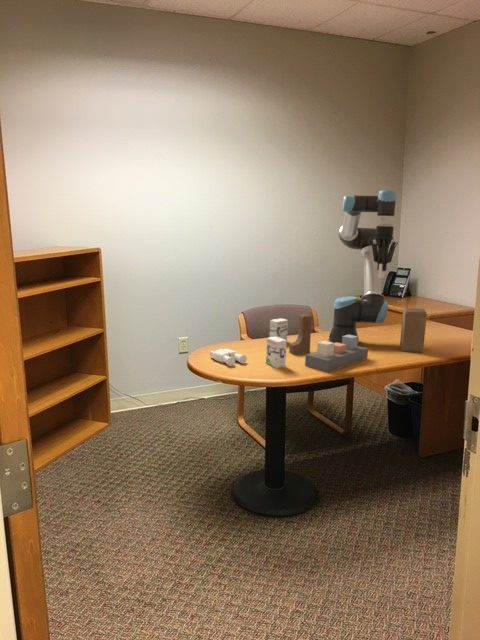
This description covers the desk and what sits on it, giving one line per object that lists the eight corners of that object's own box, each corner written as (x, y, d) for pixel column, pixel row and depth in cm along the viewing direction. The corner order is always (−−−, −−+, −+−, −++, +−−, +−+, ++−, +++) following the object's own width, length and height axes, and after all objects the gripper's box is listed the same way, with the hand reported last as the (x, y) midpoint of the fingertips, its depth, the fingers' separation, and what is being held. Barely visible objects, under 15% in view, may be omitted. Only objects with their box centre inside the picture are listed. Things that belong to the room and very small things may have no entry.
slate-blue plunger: (341, 350, 233) (342, 336, 232) (347, 349, 236) (348, 334, 235) (350, 353, 230) (351, 338, 228) (356, 351, 233) (357, 336, 231)
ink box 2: (265, 363, 224) (266, 337, 222) (274, 361, 227) (275, 336, 225) (277, 368, 217) (277, 341, 215) (286, 366, 220) (287, 340, 217)
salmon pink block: (329, 359, 228) (330, 344, 226) (335, 357, 231) (336, 342, 229) (338, 361, 224) (339, 346, 223) (345, 359, 227) (346, 344, 226)
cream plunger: (316, 358, 221) (317, 342, 220) (323, 356, 224) (324, 340, 223) (326, 360, 217) (326, 344, 216) (333, 358, 221) (334, 342, 219)
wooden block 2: (423, 353, 245) (427, 312, 241) (401, 351, 247) (405, 311, 243) (420, 347, 255) (424, 308, 250) (399, 346, 257) (403, 307, 252)
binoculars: (227, 367, 218) (227, 357, 217) (207, 358, 231) (207, 348, 230) (247, 363, 225) (247, 353, 224) (226, 355, 237) (226, 345, 236)
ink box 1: (275, 344, 256) (276, 321, 254) (268, 342, 260) (269, 320, 257) (287, 342, 262) (288, 319, 259) (280, 340, 265) (281, 318, 263)
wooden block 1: (293, 354, 238) (294, 317, 234) (288, 352, 242) (290, 315, 239) (310, 353, 242) (311, 316, 238) (305, 350, 246) (307, 314, 242)
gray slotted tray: (305, 365, 222) (305, 354, 221) (345, 353, 242) (346, 343, 241) (327, 372, 213) (327, 360, 212) (367, 358, 234) (368, 348, 232)
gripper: (367, 225, 231) (364, 277, 236) (393, 226, 222) (389, 280, 227) (376, 225, 236) (373, 275, 241) (402, 226, 227) (398, 278, 232)
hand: (381, 277), depth 234 cm, fingers closed
